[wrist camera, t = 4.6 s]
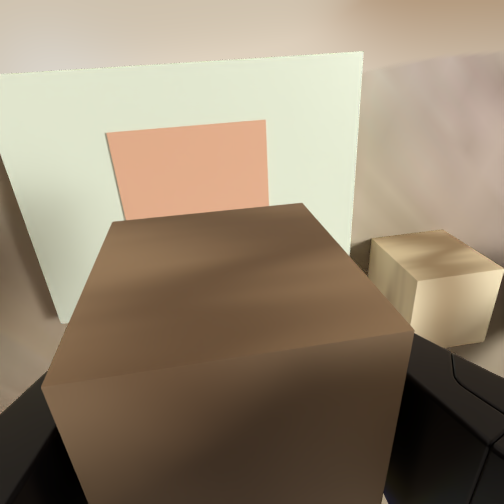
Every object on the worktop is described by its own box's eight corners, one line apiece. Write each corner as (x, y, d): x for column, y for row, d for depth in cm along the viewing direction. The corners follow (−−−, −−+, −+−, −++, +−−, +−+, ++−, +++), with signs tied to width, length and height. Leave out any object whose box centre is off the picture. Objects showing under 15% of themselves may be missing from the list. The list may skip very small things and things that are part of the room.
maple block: (442, 229, 23) (504, 268, 18) (430, 292, 25) (484, 341, 20) (371, 237, 22) (417, 280, 18) (365, 301, 24) (405, 354, 20)
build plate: (354, 52, 17) (364, 51, 16) (341, 275, 23) (348, 285, 22) (-16, 75, 15) (-29, 75, 14) (66, 313, 21) (60, 325, 20)
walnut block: (302, 202, 9) (414, 330, 5) (299, 345, 11) (376, 526, 7) (112, 221, 9) (40, 387, 4) (145, 368, 11) (121, 584, 6)
